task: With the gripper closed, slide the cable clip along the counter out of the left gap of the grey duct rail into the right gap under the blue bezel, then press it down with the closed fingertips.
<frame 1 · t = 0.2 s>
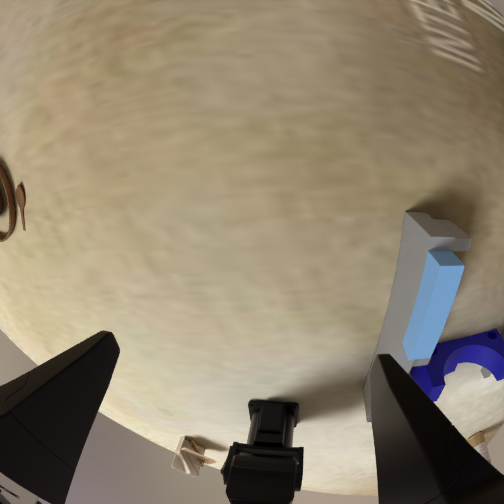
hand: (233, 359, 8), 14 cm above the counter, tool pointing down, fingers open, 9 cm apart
sprinkles bottle: (474, 435, 35), on the counter
cable clip: (455, 349, 25), on the counter
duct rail: (393, 321, 24), on the counter
architectural model: (196, 439, 43), on the counter
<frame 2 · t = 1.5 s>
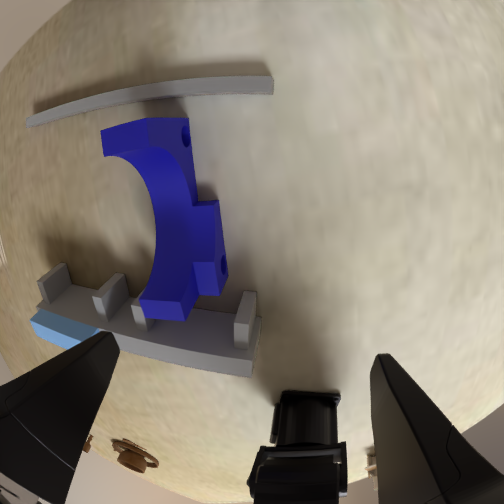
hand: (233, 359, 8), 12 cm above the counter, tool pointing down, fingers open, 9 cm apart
cable clip: (190, 200, 20), on the counter
place setting: (122, 443, 48), on the counter
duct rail: (144, 307, 25), on the counter
architectural model: (383, 447, 33), on the counter
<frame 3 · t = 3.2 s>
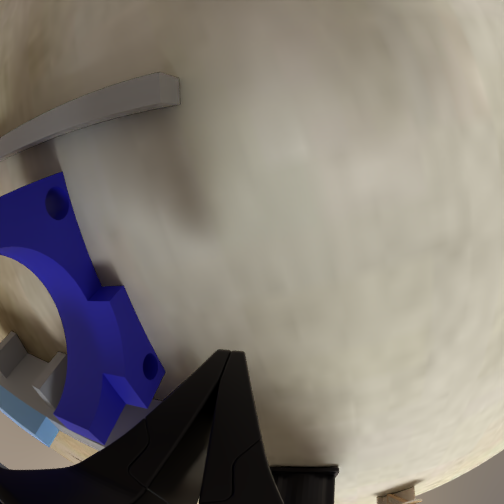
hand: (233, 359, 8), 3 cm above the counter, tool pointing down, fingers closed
cable clip: (95, 283, 13), on the counter
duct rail: (97, 388, 18), on the counter
architectural model: (395, 488, 25), on the counter
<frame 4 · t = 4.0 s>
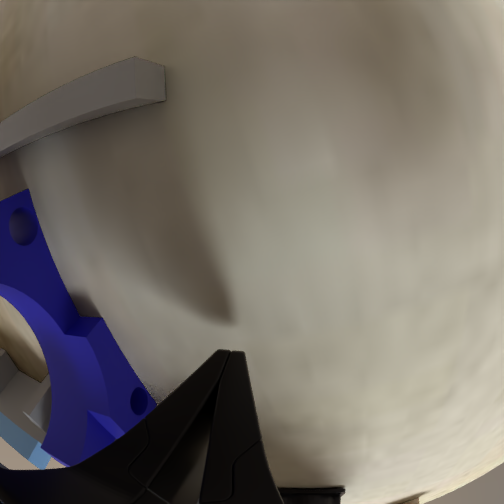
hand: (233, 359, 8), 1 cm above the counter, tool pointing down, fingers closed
cable clip: (75, 311, 11), on the counter
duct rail: (90, 411, 16), on the counter
architectural model: (399, 500, 23), on the counter
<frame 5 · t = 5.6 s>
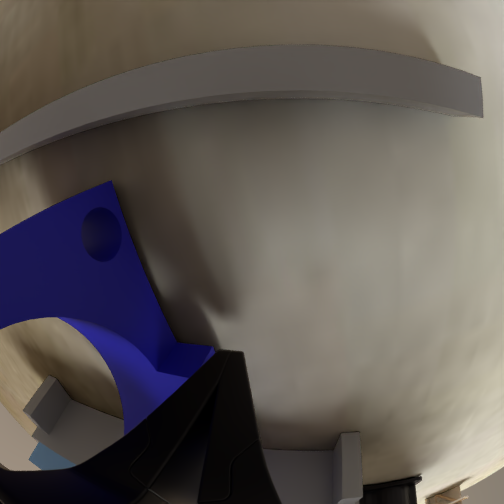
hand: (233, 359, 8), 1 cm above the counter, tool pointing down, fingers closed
cable clip: (164, 337, 10), on the counter
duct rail: (182, 442, 15), on the counter
architectural model: (442, 489, 22), on the counter
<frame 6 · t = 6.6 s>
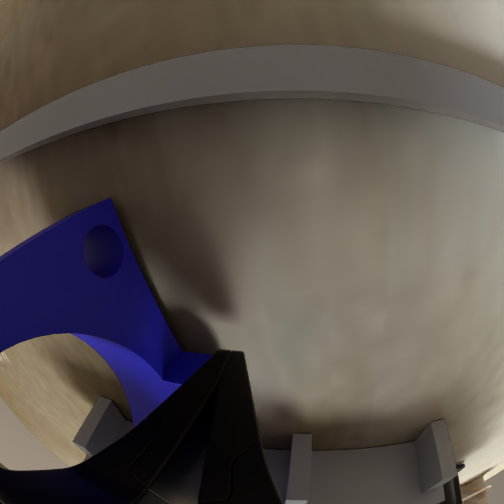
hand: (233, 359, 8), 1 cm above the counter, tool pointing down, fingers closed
cable clip: (170, 346, 10), on the counter, touching gripper
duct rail: (265, 454, 14), on the counter
architectural model: (466, 480, 21), on the counter
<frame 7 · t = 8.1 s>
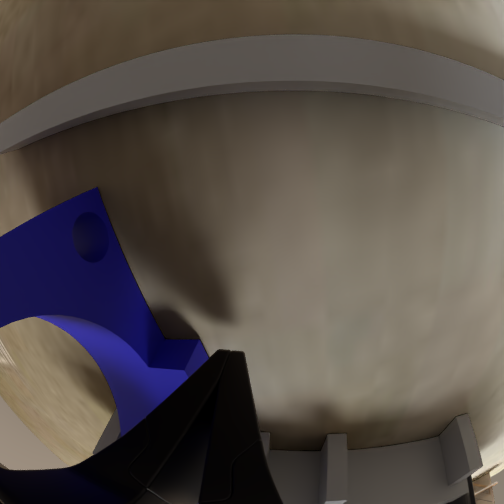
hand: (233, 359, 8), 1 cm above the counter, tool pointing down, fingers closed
cable clip: (152, 335, 10), on the counter
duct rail: (294, 456, 13), on the counter
architectural model: (473, 477, 21), on the counter
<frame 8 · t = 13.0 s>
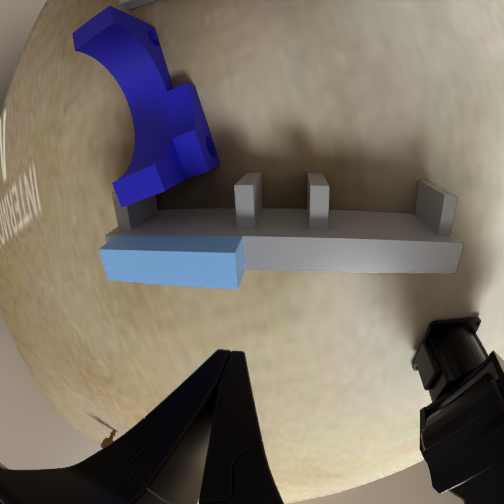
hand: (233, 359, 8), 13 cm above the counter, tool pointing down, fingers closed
cable clip: (168, 97, 17), on the counter
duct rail: (285, 222, 19), on the counter
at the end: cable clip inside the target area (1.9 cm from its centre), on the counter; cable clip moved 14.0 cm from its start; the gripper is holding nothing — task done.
